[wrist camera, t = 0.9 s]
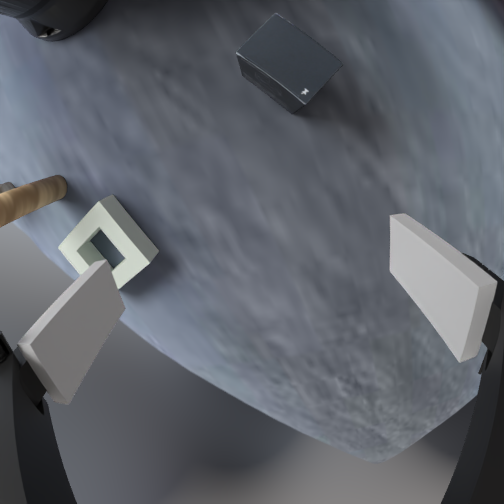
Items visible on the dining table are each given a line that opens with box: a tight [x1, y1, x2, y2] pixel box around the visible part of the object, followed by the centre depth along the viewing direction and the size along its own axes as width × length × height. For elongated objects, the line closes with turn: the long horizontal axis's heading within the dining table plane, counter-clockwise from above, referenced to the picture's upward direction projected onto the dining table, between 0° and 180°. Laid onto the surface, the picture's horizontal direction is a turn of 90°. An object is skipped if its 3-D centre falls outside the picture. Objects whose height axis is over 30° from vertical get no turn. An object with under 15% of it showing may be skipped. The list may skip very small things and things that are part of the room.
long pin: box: [0, 175, 67, 227], centre depth 30 cm, size 4×4×14 cm
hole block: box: [58, 194, 159, 289], centre depth 38 cm, size 10×10×4 cm
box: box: [236, 13, 343, 114], centre depth 27 cm, size 8×6×11 cm
